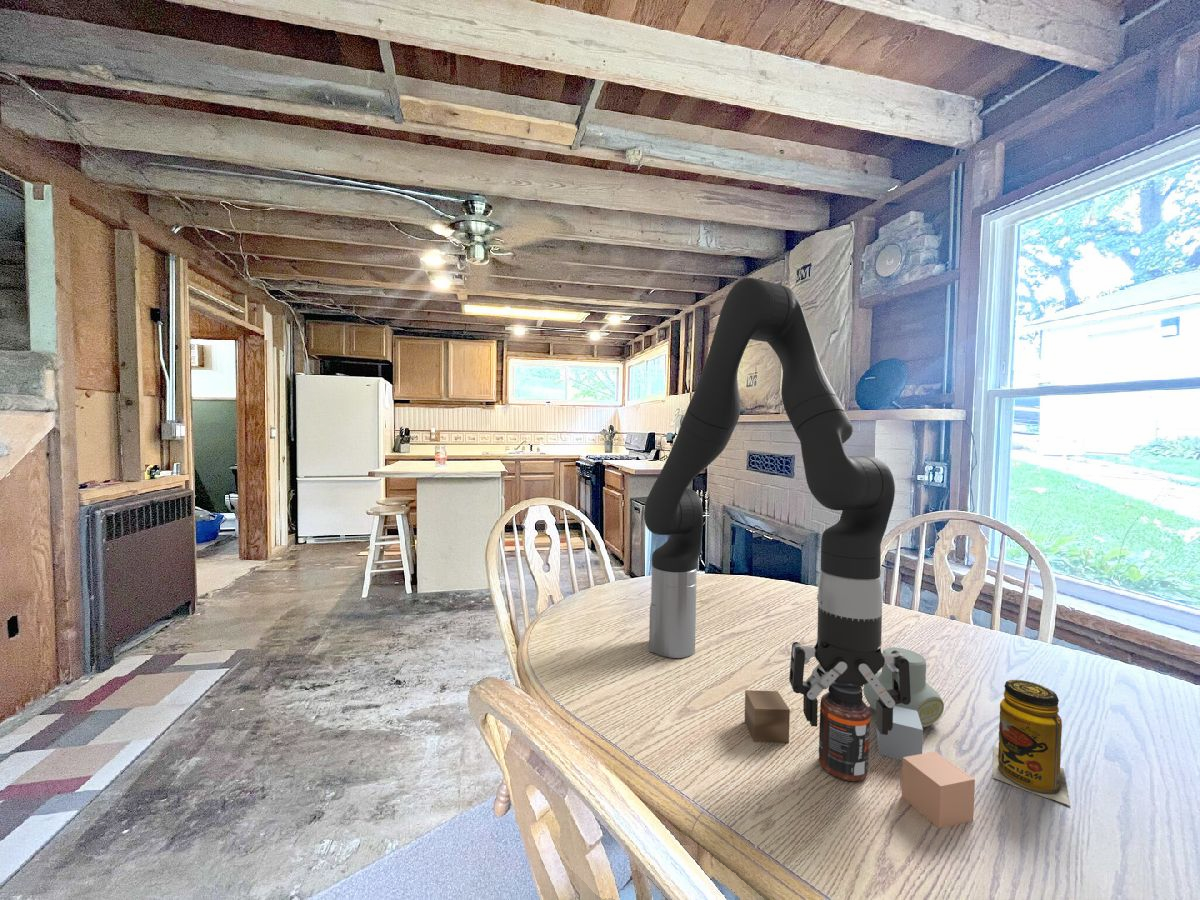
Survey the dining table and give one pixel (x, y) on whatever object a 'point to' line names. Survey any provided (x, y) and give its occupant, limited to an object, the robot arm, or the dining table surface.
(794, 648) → the robot arm
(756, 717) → the walnut block
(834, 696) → the supplement bottle
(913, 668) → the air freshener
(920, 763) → the terracotta block
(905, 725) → the slate block
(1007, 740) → the condiment
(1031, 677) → the dining table surface
